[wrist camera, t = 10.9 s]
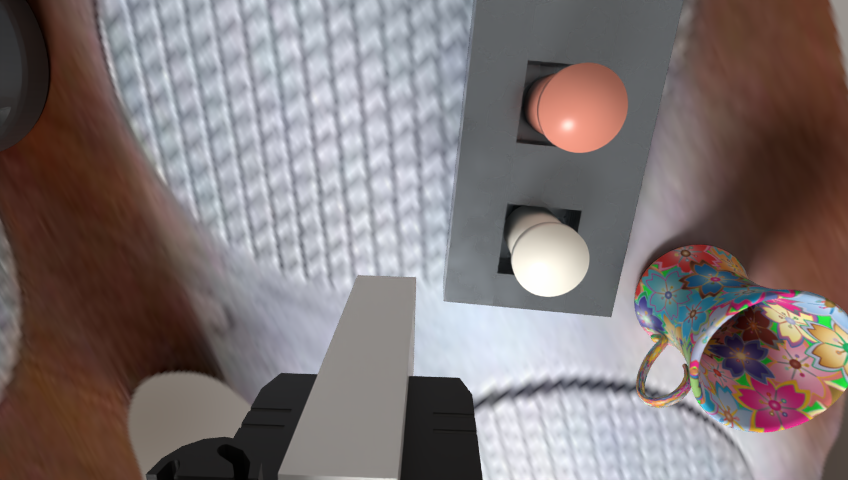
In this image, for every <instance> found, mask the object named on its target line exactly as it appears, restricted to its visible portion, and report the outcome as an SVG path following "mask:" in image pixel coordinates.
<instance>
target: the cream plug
mask: <svg viewBox="0 0 848 480" xmlns="http://www.w3.org/2000/svg"><path fill="white" fill-rule="evenodd" d="M504 238H505V241H506V243H507V246H508V248H509V250H510V253H511V265H512V269H513V272H514V274H515V276H516V278H517V280H518V282H519V283H520V284H521V285H522V286H523V287H524V288H525V289H526V290H527V291H529V292H531V293H533V294H535V295H539V296H545V297H552V296H558V295H562V294H565V293H567V292H569V291H570V290H572V289H574V288H575V287H576V286H577V285H578V284H579V283H580V282H581V281H582V279H583V278H584V276H585V275H586V272H587V270H588V267H589V251H588V247H587V245H586V243H585V241H584V240H583V238H582V237H581V236H580V235H579V234H578V233H577V232H576V231H575V230H574V229H572V228H571V227H569V226H567V225H565V224H562V223H561V222H560V221H559V220H558V219H557V218H556V217H555V216H554V215H553V213H552V212H551V211H550V210H548V209H547V208H545V207H538V206H527V205H524V206H521V207H519V208H517V209H516V210H514V211H513V212H512V213H511V214H510V215H509V216H508V218H507V220H506V222H505V225H504Z"/></svg>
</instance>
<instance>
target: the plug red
mask: <svg viewBox="0 0 848 480" xmlns="http://www.w3.org/2000/svg"><path fill="white" fill-rule="evenodd" d="M627 110H628V97H627V92H626V89H625V86H624V84H623V82H622V81H621V79H620V78H619V77H618V75H617V74H616V73H615V72H614V71H612V70H611V69H609V68H608V67H605V66H603V65H600V64H596V63H580V64H575V65H571V66H568V67H566V68H564V69H562V70H560V71H559V72H557V73H555V74H550V75H546V76H544V77H542V78H540V79H539V80H537V81H536V82H535V83H534V84H533V85H532V86H531V88H530V89H529V91H528V93H527V95H526V98H525V102H524V112H525V117H526V119H527V121H528V123H529V125H530V126H531V127H532V128H533V129H534V130H535V131H537V132H538V133H540V134H543V135H545V137H546V138H547V139H548V140H549V141H550V142H551V143H552V144H554V145H555V146H557V147H559V148H561V149H564V150H566V151H569V152H575V153H584V152H590V151H594V150H596V149H599V148H601V147H603V146H604V145H606V144H607V143H609V142H610V141H611V140H612V139H613V138H614V137H615V136H616V135H617V133H618V132H619V131H620V129H621V127H622V126H623V124H624V121H625V119H626V115H627Z"/></svg>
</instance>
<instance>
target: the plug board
mask: <svg viewBox="0 0 848 480" xmlns="http://www.w3.org/2000/svg"><path fill="white" fill-rule="evenodd" d="M682 4H683V0H474V1H473V10H472V19H471V28H470V38H469V47H468V56H467V65H466V75H465V84H464V93H463V102H462V112H461V121H460V130H459V139H458V149H457V158H456V167H455V176H454V186H453V195H452V204H451V213H450V223H449V232H448V241H447V250H446V260H445V269H444V278H443V294H444V301H447V302H457V303H468V304H478V305H489V306H500V307H510V308H521V309H531V310H542V311H552V312H563V313H573V314H584V315H595V316H605V317H611V316H612V311H613V307H614V302H615V298H616V294H617V289H618V285H619V281H620V276H621V272H622V267H623V263H624V259H625V254H626V250H627V245H628V241H629V237H630V232H631V228H632V224H633V219H634V215H635V210H636V206H637V202H638V197H639V193H640V188H641V184H642V180H643V175H644V171H645V167H646V162H647V158H648V153H649V149H650V145H651V140H652V136H653V132H654V127H655V123H656V118H657V114H658V110H659V105H660V101H661V96H662V92H663V88H664V83H665V79H666V75H667V70H668V66H669V61H670V57H671V53H672V48H673V44H674V39H675V35H676V31H677V26H678V22H679V18H680V13H681V9H682ZM580 63H596V64H600V65H603V66H605V67H608V68H609V69H611V70H612V71H614V72H615V73H616V74H617V75H618V77H619V78H620V79H621V81H622V82H623V84H624V86H625V89H626V92H627V97H628V110H627V115H626V119H625V121H624V124H623V126H622V127H621V129H620V131H619V132H618V133H617V135H616V136H615V137H614V138H613V139H612V140H611V141H610V142H609V143H607V144H606V145H604V146H603V147H601V148H599V149H596V150H594V151H590V152H584V153H575V152H569V151H566V150H564V149H561V148H559V147H557V146H555V145H554V144H552V143H551V142H550V141H549V140H548V139H547V138H546V137H545V135H543V134H540V133H538V132H537V131H535V130H534V129H533V128H532V127H531V126H530V125H529V123H528V121H527V119H526V117H525V112H524V102H525V98H526V95H527V93H528V91H529V89H530V88H531V86H532V85H533V84H534V83H535V82H536V81H537V80H539V79H540V78H542V77H544V76H546V75H550V74H555V73H557V72H559V71H560V70H562V69H564V68H566V67H568V66H571V65H575V64H580ZM524 205H527V206H538V207H545V208H547V209H548V210H550V211H551V212H552V213H553V215H554V216H555V217H556V218H557V219H558V220H559V221H560V222H561V223H562V224H565V225H567V226H569V227H571V228H572V229H574V230H575V231H576V232H577V233H578V234H579V235H580V236H581V237H582V238H583V240H584V241H585V243H586V245H587V247H588V251H589V267H588V270H587V272H586V275H585V276H584V278H583V279H582V281H581V282H580V283H579V284H578V285H577V286H576V287H575V288H574V289H572V290H570V291H569V292H567V293H565V294H562V295H558V296H552V297H545V296H539V295H535V294H533V293H531V292H529V291H527V290H526V289H525V288H524V287H523V286H522V285H521V284H520V283H519V282H518V280H517V278H516V276H515V274H514V272H513V269H512V265H511V253H510V250H509V248H508V246H507V243H506V241H505V238H504V225H505V222H506V220H507V218H508V216H509V215H510V214H511V213H512V212H513V211H514V210H516V209H517V208H519V207H521V206H524Z"/></svg>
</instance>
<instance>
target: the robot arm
mask: <svg viewBox="0 0 848 480" xmlns="http://www.w3.org/2000/svg"><path fill="white" fill-rule="evenodd" d="M48 81H49V68H48V58H47V52H46V47H45V43H44V40H43V36H42V33H41V30H40V28H39V25H38V23H37V20H36V18H35V16H34V14H33V12H32V10H31V8H30V6H29V5H28V3H27V1H26V0H0V151H3V150H5V149H7V148H9V147H11V146H13V145H14V144H16V143H17V142H19V141H20V140H21V139H22V138H23V137H25V136H26V135H27V134H28V132H29V131H30V130H31V129H32V128H33V126H34V125H35V123H36V122H37V120H38V118H39V116H40V114H41V112H42V110H43V107H44V104H45V100H46V96H47V91H48ZM415 300H416V277H391V276H363V275H358V276H357V278H356V281H355V283H354V286H353V288H352V291H351V293H350V296H349V298H348V301H347V303H346V306H345V308H344V311H343V313H342V316H341V318H340V320H339V323H338V325H337V328H336V330H335V333H334V335H333V338H332V340H331V343H330V345H329V348H328V350H327V353H326V355H325V358H324V360H323V363H322V365H321V368H320V370H319V373H318V374H292V373H281V374H279V375H278V376H277V377H276V378H274V379H273V380H272V381H270V382H269V383H268V384H267V385H265V386H264V387H263V388H262V389H261V390H260V392H259V394H258V396H257V397H256V399H255V401H254V403H253V404H252V406H251V410H250V411H249V412H248V413H247V415H246V417H245V419H244V420H243V422H242V426H241V428H239V429H238V431H237V433H236V434H235V436H234V438H228V437H219V438H209V439H203V440H200V441H197V442H194V443H191V444H188V445H185V446H182V447H180V448H179V449H177V450H175V451H174V452H172V453H170V454H169V455H167V456H165V457H164V458H162V459H161V460H160V461H159V462H158V463H157V464H156V465H155V466H154V467H153V468H152V469H151V470H150V471H149V472H148V473H147V474H146V478H147V480H483V479H482V471H481V463H480V455H479V446H478V438H477V434H476V431H477V430H476V422H475V418H474V406H473V398H472V394H471V393H470V391H469V390H468V389H467V387H466V386H465V385H464V383H463V382H462V381H461V379H460V378H449V377H422V376H413V372H414V338H415Z"/></svg>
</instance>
